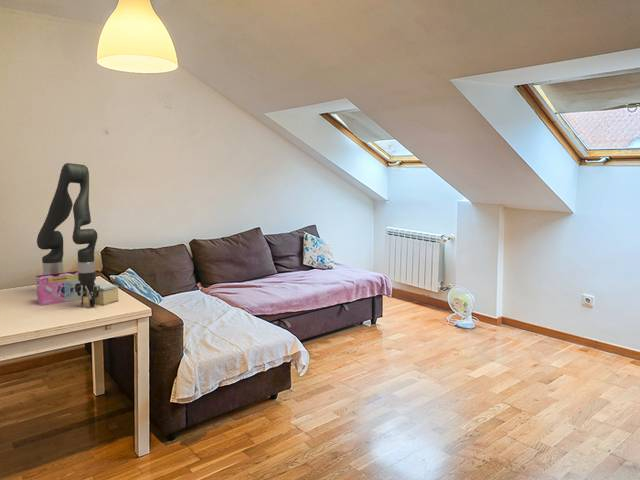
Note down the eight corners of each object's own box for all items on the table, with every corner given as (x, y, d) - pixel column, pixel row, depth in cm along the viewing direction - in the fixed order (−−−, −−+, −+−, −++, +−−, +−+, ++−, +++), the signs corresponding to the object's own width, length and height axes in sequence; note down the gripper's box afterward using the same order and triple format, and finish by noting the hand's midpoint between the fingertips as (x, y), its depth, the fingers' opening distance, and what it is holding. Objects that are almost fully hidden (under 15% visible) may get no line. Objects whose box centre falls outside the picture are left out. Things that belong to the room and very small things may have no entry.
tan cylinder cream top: (80, 306, 226) (80, 296, 225) (88, 304, 230) (88, 294, 230) (88, 307, 224) (87, 298, 224) (95, 305, 229) (95, 295, 228)
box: (87, 302, 233) (86, 289, 232) (101, 298, 241) (101, 285, 240) (103, 305, 229) (103, 291, 228) (118, 301, 237) (117, 287, 236)
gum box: (89, 294, 248) (88, 269, 246) (93, 298, 242) (92, 272, 240) (37, 302, 233) (35, 275, 231) (40, 306, 227) (39, 278, 225)
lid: (86, 288, 232) (86, 286, 232) (101, 285, 240) (100, 283, 240) (103, 290, 228) (103, 288, 228) (117, 287, 236) (117, 285, 236)
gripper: (104, 270, 226) (105, 305, 228) (82, 267, 231) (84, 301, 233) (91, 273, 219) (92, 309, 221) (69, 270, 224) (70, 305, 227)
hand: (88, 305), depth 227 cm, fingers closed on tan cylinder cream top, 4 cm apart
